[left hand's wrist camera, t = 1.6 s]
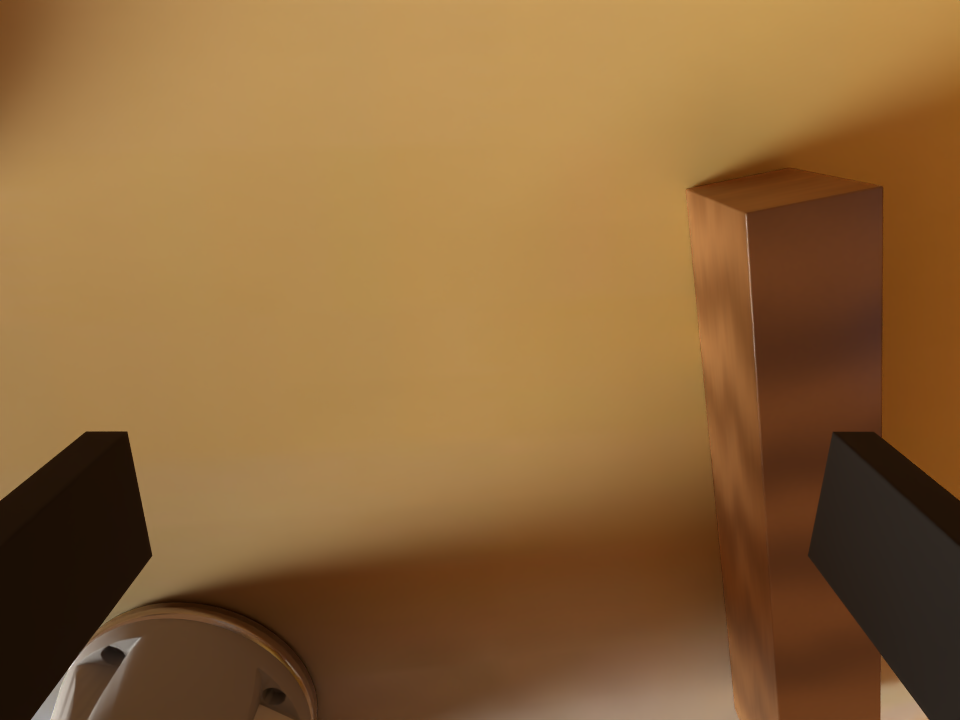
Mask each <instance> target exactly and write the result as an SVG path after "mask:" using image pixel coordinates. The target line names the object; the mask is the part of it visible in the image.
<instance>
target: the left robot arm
mask: <svg viewBox="0 0 960 720" xmlns="http://www.w3.org/2000/svg"><path fill="white" fill-rule="evenodd" d="M151 557H152V552H151V547H150V542H149V537H148V532H147V527H146V522H145V517H144V512H143V507H142V502H141V497H140V492H139V487H138V482H137V477H136V472H135V467H134V462H133V457H132V452H131V448H130V443H129V438H128V433H127V432H85V433H84V434H83V435H81V436H80V437H79V438H78V439H76V440H75V441H74V442H73V443H71V444H70V445H69V446H68V447H66V448H65V449H64V450H63V451H61V452H60V453H59V454H58V455H57V456H55V457H54V458H53V459H52V460H50V461H49V462H48V463H47V464H45V465H44V466H43V467H42V468H40V469H39V470H38V471H37V472H35V473H34V474H33V475H32V476H31V477H29V478H28V479H27V480H26V481H24V482H23V483H22V484H21V485H19V486H18V487H17V488H16V489H14V490H13V491H12V492H11V493H9V494H8V495H7V496H6V497H5V498H3V499H2V500H1V501H0V720H31V719H32V717H33V716H34V715H35V713H36V712H37V711H38V709H39V708H40V707H41V705H42V704H43V702H44V701H45V700H46V698H47V697H48V696H49V694H50V693H51V692H52V690H53V689H54V688H55V686H56V685H57V684H58V682H59V681H60V680H61V678H62V677H63V676H64V674H65V673H66V671H67V670H68V669H69V670H68V672H67V674H66V676H65V678H64V680H63V682H62V685H61V688H60V691H59V694H58V697H57V701H56V704H55V707H54V710H53V714H52V717H51V720H317V697H316V692H315V688H314V684H313V682H312V679H311V677H310V675H309V673H308V671H307V669H306V667H305V666H304V664H303V663H302V661H301V660H300V658H299V657H298V656H297V655H296V654H295V652H294V651H293V650H292V649H291V648H290V647H289V646H288V645H287V644H286V643H285V642H284V641H283V640H281V639H280V638H279V637H278V636H277V635H275V634H274V633H273V632H271V631H270V630H268V629H267V628H265V627H264V626H262V625H260V624H258V623H257V622H255V621H253V620H251V619H249V618H247V617H245V616H242V615H240V614H237V613H235V612H232V611H229V610H225V609H222V608H219V607H214V606H210V605H204V604H197V603H186V602H169V603H158V604H152V605H147V606H143V607H139V608H135V609H133V610H130V611H127V612H125V613H123V614H121V615H119V616H117V617H115V618H113V619H111V620H110V621H108V622H107V623H105V624H104V625H103V626H102V627H100V626H101V624H102V623H103V622H104V620H105V619H106V617H107V616H108V615H109V613H110V612H111V611H112V609H113V608H114V607H115V605H116V604H117V603H118V601H119V600H120V599H121V597H122V596H123V595H124V593H125V592H126V591H127V589H128V588H129V586H130V585H131V584H132V582H133V581H134V580H135V578H136V577H137V576H138V574H139V573H140V572H141V570H142V569H143V568H144V566H145V565H146V564H147V562H148V561H149V559H150V558H151ZM808 557H809V558H810V559H811V561H812V562H813V564H814V565H815V566H816V568H817V569H818V570H819V572H820V573H821V574H822V576H823V577H824V578H825V580H826V581H827V582H828V584H829V585H830V586H831V588H832V589H833V591H834V592H835V593H836V595H837V596H838V597H839V599H840V600H841V601H842V603H843V604H844V605H845V607H846V608H847V609H848V611H849V612H850V613H851V615H852V616H853V617H854V619H855V620H856V622H857V623H858V624H859V626H860V627H861V628H862V630H863V631H864V632H865V634H866V635H867V636H868V638H869V639H870V640H871V642H872V643H873V644H874V646H875V647H876V649H877V650H878V651H879V653H880V654H881V655H882V657H883V658H884V659H885V661H886V662H887V663H888V665H889V666H890V667H891V669H892V670H893V671H894V673H895V674H896V676H897V677H898V678H899V680H900V681H901V682H902V684H903V685H904V686H905V688H906V689H907V690H908V692H909V693H910V694H911V696H912V697H913V698H914V700H915V701H916V702H917V704H918V705H919V707H920V708H921V709H922V711H923V712H924V713H925V715H926V716H927V717H928V719H929V720H960V501H959V500H958V499H957V498H955V497H954V496H953V495H952V494H951V493H949V492H948V491H947V490H946V489H944V488H943V487H942V486H941V485H939V484H938V483H937V482H936V481H934V480H933V479H932V478H931V477H929V476H928V475H927V474H926V473H925V472H923V471H922V470H921V469H920V468H918V467H917V466H916V465H915V464H913V463H912V462H911V461H910V460H908V459H907V458H906V457H905V456H903V455H902V454H901V453H900V452H899V451H897V450H896V449H895V448H894V447H892V446H891V445H890V444H889V443H887V442H886V441H885V440H884V439H882V438H881V437H880V436H879V435H877V434H876V433H875V432H833V433H832V438H831V443H830V448H829V452H828V457H827V462H826V467H825V472H824V477H823V482H822V487H821V492H820V497H819V502H818V507H817V512H816V517H815V522H814V527H813V532H812V537H811V542H810V547H809V552H808ZM99 627H100V628H99ZM98 628H99V629H98ZM69 667H70V668H69Z"/></svg>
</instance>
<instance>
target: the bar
mask: <svg viewBox="0 0 960 720" xmlns="http://www.w3.org/2000/svg"><path fill="white" fill-rule="evenodd" d="M686 197H687V208H688V218H689V229H690V239H691V250H692V261H693V271H694V282H695V292H696V303H697V313H698V324H699V335H700V345H701V356H702V366H703V377H704V387H705V398H706V409H707V419H708V430H709V440H710V451H711V461H712V472H713V482H714V493H715V504H716V514H717V525H718V535H719V546H720V556H721V567H722V578H723V588H724V599H725V609H726V620H727V630H728V641H729V651H730V662H731V673H732V683H733V694H734V704H735V710H736V712H737V714H738V717H739V719H740V720H880V672H881V654H880V653H879V651H878V650H877V649H876V647H875V646H874V644H873V643H872V642H871V640H870V639H869V638H868V636H867V635H866V634H865V632H864V631H863V630H862V628H861V627H860V626H859V624H858V623H857V622H856V620H855V619H854V617H853V616H852V615H851V613H850V612H849V611H848V609H847V608H846V607H845V605H844V604H843V603H842V601H841V600H840V599H839V597H838V596H837V595H836V593H835V592H834V591H833V589H832V588H831V586H830V585H829V584H828V582H827V581H826V580H825V578H824V577H823V576H822V574H821V573H820V572H819V570H818V569H817V568H816V566H815V565H814V564H813V562H812V561H811V559H810V558H809V557H808V552H809V547H810V542H811V537H812V532H813V527H814V522H815V517H816V512H817V507H818V502H819V497H820V492H821V487H822V482H823V477H824V472H825V467H826V462H827V457H828V452H829V448H830V443H831V438H832V433H833V432H875V433H876V434H877V435H879V436H880V437H881V438H882V292H883V186H879V185H874V184H869V183H864V182H859V181H854V180H849V179H844V178H839V177H833V176H828V175H823V174H818V173H813V172H808V171H803V170H798V169H793V168H786V169H781V170H776V171H771V172H766V173H762V174H757V175H752V176H747V177H742V178H737V179H732V180H727V181H722V182H717V183H712V184H707V185H702V186H698V187H693V188H688V189H686Z"/></svg>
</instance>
